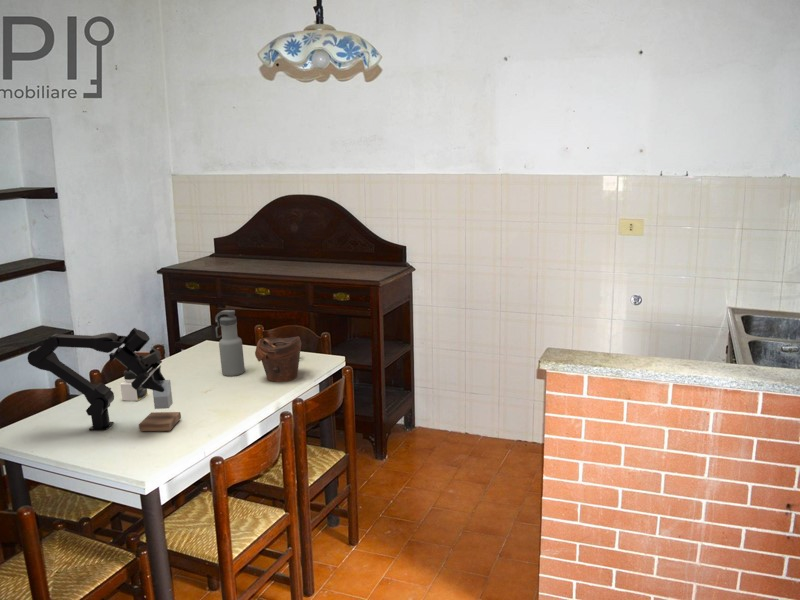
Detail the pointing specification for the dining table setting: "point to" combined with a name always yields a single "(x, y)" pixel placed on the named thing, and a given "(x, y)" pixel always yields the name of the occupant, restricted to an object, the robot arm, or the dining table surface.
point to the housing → (163, 395)
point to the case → (279, 357)
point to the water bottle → (230, 344)
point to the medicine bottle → (131, 388)
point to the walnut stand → (160, 421)
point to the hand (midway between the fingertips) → (165, 388)
